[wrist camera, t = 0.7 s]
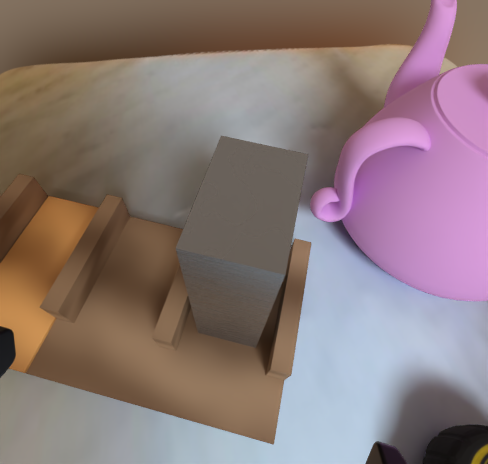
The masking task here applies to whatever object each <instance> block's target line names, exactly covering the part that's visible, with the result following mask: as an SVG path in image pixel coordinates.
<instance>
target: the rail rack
mask: <svg viewBox="0 0 488 464" xmlns="http://www.w3.org/2000/svg"><path fill="white" fill-rule="evenodd" d="M182 231H183V229H180V228H176V227H172V226H168V225H163V224H159V223H155V222H151V221H147V220H142V219H138V218H134V217H130V215H129V213H128V210H127V208H126V206H125V204H124V201H123V199H122V198H120V197H116V196H112V195H108V194H107V195H106V197H105V198H104V200H103V202H102V203H101V205H100V207H99V208H98V207H93V206H89V205H85V204H81V203H77V202H72V201H68V200H64V199H60V198H56V197H52V196H48V195H47V194H46V193H45V191H44V190H43V189H42V187H41V186H40V185H39V183H38V182H37V181H36V180H35V178H34V177H31V176H27V175H23V174H19V175H18V176H17V177H16V178H15V180H14V181H13V182H12V183H11V185H10V186H9V187H8V188H7V189H6V191H5V192H4V193H3V194H2V195H1V197H0V326H2V327H6V328H9V329H11V330H12V331H13V333H14V340H15V350H16V357H15V360H14V362H13V363H12V365H11V366H10V367H9V369H13V370H16V371H20V372H23V373H27V374H30V375H34V376H37V377H41V378H44V379H48V380H51V381H55V382H58V383H62V384H65V385H69V386H72V387H76V388H79V389H82V390H86V391H89V392H93V393H96V394H100V395H103V396H107V397H110V398H114V399H117V400H121V401H124V402H128V403H131V404H135V405H138V406H142V407H145V408H149V409H152V410H156V411H159V412H162V413H166V414H169V415H173V416H176V417H180V418H183V419H187V420H190V421H194V422H197V423H201V424H204V425H208V426H211V427H215V428H218V429H222V430H225V431H229V432H232V433H236V434H239V435H243V436H246V437H249V438H253V439H256V440H260V441H263V442H267V443H270V444H274V440H275V434H276V427H277V421H278V415H279V409H280V403H281V396H282V390H283V384H284V380H285V379H287V378H288V377H289V376H291V373H292V366H293V360H294V353H295V347H296V340H297V333H298V327H299V320H300V314H301V307H302V301H303V294H304V287H305V281H306V274H307V268H308V261H309V255H310V248H311V242H307V241H303V240H299V239H295V240H294V242H293V245H292V247H291V250H290V253H289V258H288V264H287V269H286V274H285V277H284V279H283V282H282V284H281V287H280V289H279V292H278V294H277V297H276V299H275V302H274V304H273V306H272V309H271V311H270V314H269V316H268V319H267V321H266V324H265V326H264V329H263V331H262V333H261V336H260V338H259V341H258V343H257V346H256V348H254V347H250V346H247V345H243V344H239V343H235V342H232V341H228V340H224V339H220V338H216V337H213V336H209V335H205V334H201V333H198V330H197V327H196V323H195V319H194V316H193V312H192V308H191V304H190V301H189V297H188V293H187V289H186V286H185V282H184V278H183V274H182V271H181V267H180V263H179V259H178V256H177V252H176V246H177V243H178V241H179V238H180V236H181V233H182Z"/></svg>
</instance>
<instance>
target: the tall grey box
mask: <svg viewBox="0 0 488 464" xmlns="http://www.w3.org/2000/svg"><path fill="white" fill-rule="evenodd" d="M307 158H308V154H304V153H300V152H295V151H290V150H285V149H281V148H276V147H271V146H267V145H262V144H257V143H253V142H248V141H243V140H239V139H234V138H229V137H225V136H221V138H220V140H219V143H218V145H217V148H216V150H215V152H214V155H213V157H212V160H211V162H210V165H209V167H208V170H207V172H206V175H205V177H204V179H203V182H202V184H201V187H200V189H199V192H198V194H197V197H196V199H195V202H194V204H193V206H192V209H191V211H190V214H189V216H188V219H187V221H186V224H185V226H184V229H183V231H182V233H181V236H180V238H179V241H178V243H177V246H176V252H177V256H178V259H179V263H180V267H181V271H182V274H183V278H184V282H185V286H186V289H187V293H188V297H189V301H190V304H191V308H192V312H193V316H194V319H195V323H196V327H197V330H198V333H201V334H205V335H209V336H213V337H216V338H220V339H224V340H228V341H232V342H235V343H239V344H243V345H247V346H250V347H254V348H256V346H257V343H258V341H259V338H260V336H261V333H262V331H263V329H264V326H265V324H266V321H267V319H268V316H269V314H270V311H271V309H272V306H273V304H274V302H275V299H276V297H277V294H278V292H279V289H280V287H281V284H282V282H283V279H284V277H285V274H286V269H287V264H288V258H289V253H290V248H291V242H292V237H293V232H294V227H295V221H296V216H297V211H298V206H299V200H300V195H301V190H302V185H303V179H304V174H305V169H306V164H307Z"/></svg>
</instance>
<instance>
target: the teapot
mask: <svg viewBox="0 0 488 464" xmlns="http://www.w3.org/2000/svg"><path fill="white" fill-rule="evenodd" d="M456 10H457V2H456V0H431V7H430V12H429V15H428V18H427V21H426V24H425V26H424V28H423V30H422V33H421V35H420V37H419V38H418V40H417V42H416V43H415V45H414V47H413V48H412V50H411V51H410V53H409V54H408V56H407V58H406V59H405V61H404V62H403V64H402V65H401V67H400V68H399V70H398V72H397V73H396V75H395V77H394V79H393V80H392V82H391V84H390V87H389V89H388V92H387V95H386V99H385V104H384V108H383V109H382V110H380V111H379V112H378V113H377V114H376V115H374V116H373V117H372V118H371V119H370V120H369V121H368V122H367V123H366V124H365V125H364V126H363V127H362V128H361V129H359V130H358V131H356V132H355V133H354V134H353V135H352V136H351V137H350V138H349V139H348V140H347V142H346V143H345V145H344V147H343V149H342V151H341V154H340V157H339V162H338V165H337V168H336V172H335V177H334V188H333V187H325V188H322V189H320V190H318V191H316V192H315V193H314V194H313V196H312V198H311V202H310V207H311V211H312V213H313V214H314V216H315V217H317V218H318V219H320V220H322V221H326V222H335V221H339V220H341V219H342V222H343V224H344V226H345V228H346V229H347V231H348V233H349V234H350V236H351V237H352V239H353V240H354V241H355V243H356V244H357V245H358V246H359V248H360V249H361V250H362V251H363V252H364V253H365V254H366V255H367V256H368V257H369V258H370V259H371V260H372V261H373V262H374V263H375V264H377V265H378V266H379V267H380V268H381V269H383V270H384V271H386V272H387V273H389V274H390V275H391V276H393V277H394V278H396V279H398V280H400V281H402V282H403V283H405V284H407V285H409V286H411V287H413V288H416V289H418V290H421V291H423V292H425V293H429V294H432V295H435V296H439V297H442V298H448V299H453V300H463V301H487V300H488V64H474V65H467V66H462V67H457V68H454V69H451V70H448V71H446V72H444V73H442V74H440V75H439V73H440V69H441V65H442V61H443V58H444V55H445V52H446V49H447V46H448V43H449V40H450V37H451V32H452V29H453V25H454V21H455V16H456Z"/></svg>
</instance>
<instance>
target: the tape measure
mask: <svg viewBox="0 0 488 464" xmlns="http://www.w3.org/2000/svg"><path fill="white" fill-rule="evenodd" d="M425 452H426V456H425V457H424V459H423V464H488V426H484V425H463V426H455V427H451V428H448V429H445V430H444V431H442V432H440V433H439V435H438V436H437V437H434V438H433V439H432V441H431V442H430V444H429V445H428V447H427V449H426V451H425Z"/></svg>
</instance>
